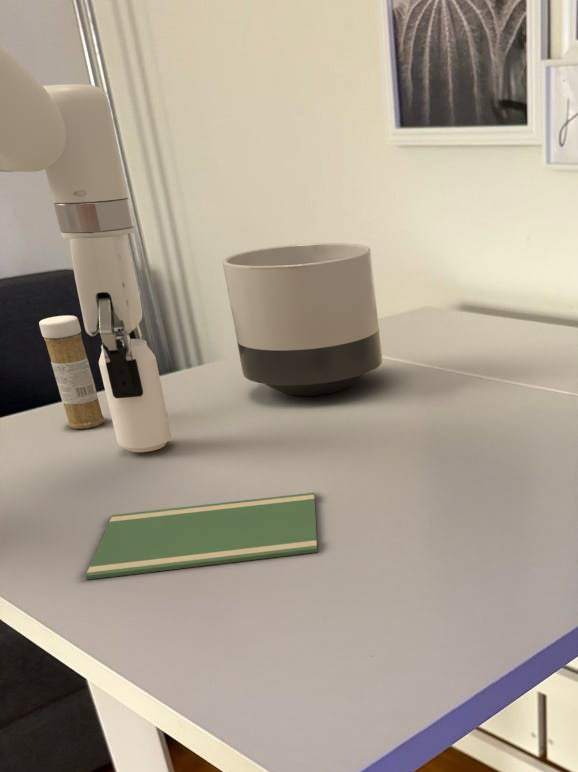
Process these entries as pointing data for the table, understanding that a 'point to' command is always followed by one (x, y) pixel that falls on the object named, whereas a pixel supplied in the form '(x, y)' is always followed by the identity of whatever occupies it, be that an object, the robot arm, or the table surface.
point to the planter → (305, 316)
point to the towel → (206, 535)
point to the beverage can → (139, 405)
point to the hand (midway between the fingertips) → (133, 387)
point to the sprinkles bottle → (72, 371)
